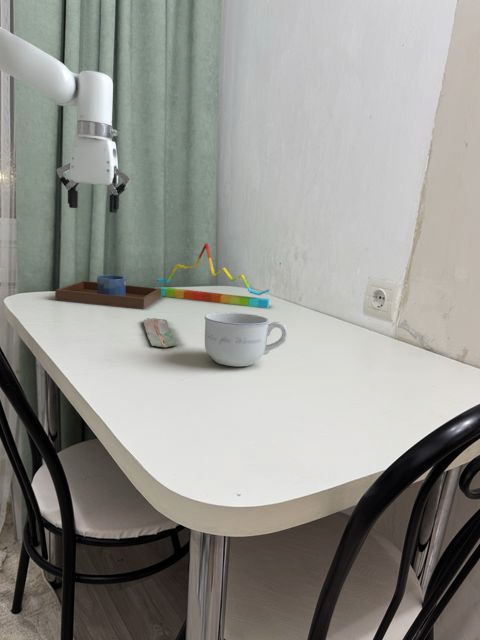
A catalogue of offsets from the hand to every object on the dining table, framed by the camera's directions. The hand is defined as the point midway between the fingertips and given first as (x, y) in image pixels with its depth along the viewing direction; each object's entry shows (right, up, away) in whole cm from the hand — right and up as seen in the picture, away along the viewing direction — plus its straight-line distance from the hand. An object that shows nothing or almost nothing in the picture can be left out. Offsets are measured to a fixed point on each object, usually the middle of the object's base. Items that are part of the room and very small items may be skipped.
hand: (93, 210), depth 120 cm
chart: (+27, -20, +17) cm, 37 cm away
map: (+20, -30, -20) cm, 42 cm away
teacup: (+37, -36, -34) cm, 61 cm away
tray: (+2, -20, +7) cm, 22 cm away
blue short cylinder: (+2, -20, +7) cm, 21 cm away
